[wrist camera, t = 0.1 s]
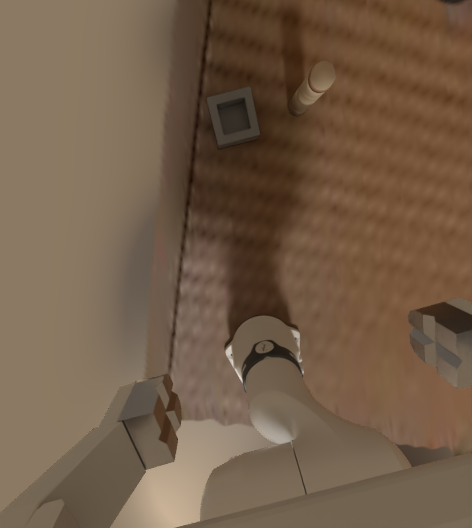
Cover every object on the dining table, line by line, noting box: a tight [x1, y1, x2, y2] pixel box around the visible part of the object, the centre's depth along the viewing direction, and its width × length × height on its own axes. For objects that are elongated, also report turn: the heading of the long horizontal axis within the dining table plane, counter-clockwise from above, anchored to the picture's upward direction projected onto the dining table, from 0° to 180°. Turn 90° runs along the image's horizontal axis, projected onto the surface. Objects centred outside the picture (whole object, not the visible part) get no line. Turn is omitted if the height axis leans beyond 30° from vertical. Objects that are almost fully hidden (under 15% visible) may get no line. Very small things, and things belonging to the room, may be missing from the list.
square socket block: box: [207, 86, 260, 149], centre depth 48 cm, size 8×8×4 cm
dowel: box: [288, 61, 335, 116], centre depth 43 cm, size 4×4×13 cm
